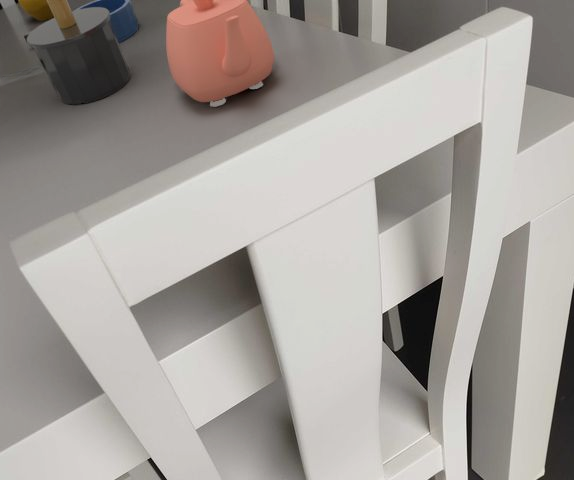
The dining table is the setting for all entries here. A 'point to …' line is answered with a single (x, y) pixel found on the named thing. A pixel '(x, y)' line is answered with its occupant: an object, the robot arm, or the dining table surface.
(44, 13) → the apple
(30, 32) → the pan handle
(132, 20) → the pan
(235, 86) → the teapot
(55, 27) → the lid
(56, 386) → the dining table surface
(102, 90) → the pot
